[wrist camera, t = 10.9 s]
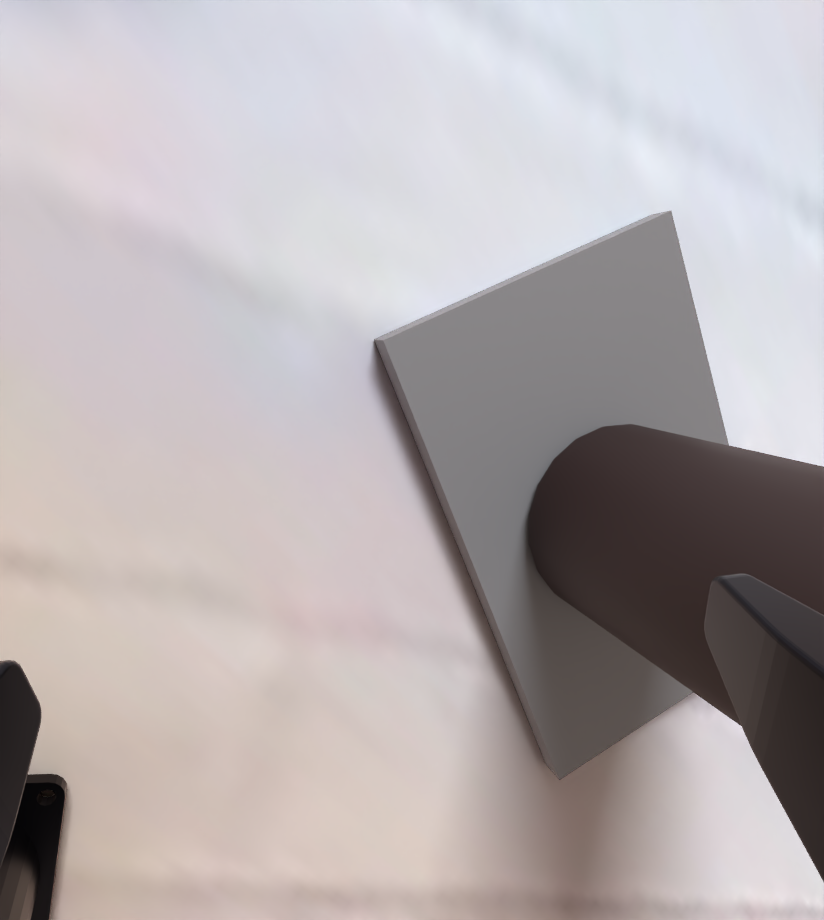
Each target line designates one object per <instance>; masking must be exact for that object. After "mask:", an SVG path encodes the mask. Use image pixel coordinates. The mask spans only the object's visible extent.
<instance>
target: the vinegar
mask: <svg viewBox="0 0 824 920" xmlns="http://www.w3.org/2000/svg"><path fill="white" fill-rule="evenodd" d="M529 546H530V550H531V553H532V556H533V559H534V563H535V566H536V569H537V571H538V573H539V574H540V575H541V577H542V578H543V579H544V581H545V582H546V583H547V585H548V586H549V587H550V589H551V590H552V591H553V593H554V594H556V595H557V596H558V597H560V598H561V599H563V600H564V601H565V602H567V603H568V604H570V605H571V606H572V607H574V608H575V609H577V610H578V611H580V612H581V613H582V614H584V615H585V616H587V617H588V618H589V619H591V620H592V621H594V622H595V623H597V624H598V625H599V626H601V627H602V628H604V629H605V630H606V631H608V632H609V633H611V634H612V635H614V636H615V637H616V638H618V639H619V640H621V641H622V642H623V643H625V644H626V645H628V646H629V647H630V648H632V649H633V650H635V651H636V652H638V653H639V654H640V655H642V656H643V657H645V658H646V659H647V660H649V661H650V662H652V663H653V664H655V665H656V666H657V667H659V668H660V669H662V670H663V671H664V672H666V673H667V674H669V675H670V676H671V677H673V678H674V679H676V680H677V681H679V682H680V683H681V684H683V685H684V686H686V687H687V688H688V689H690V690H691V691H693V692H694V693H696V694H697V695H698V696H700V697H701V698H703V699H704V700H705V701H707V702H708V703H710V704H711V705H712V706H714V707H715V708H717V709H718V710H720V711H721V712H722V713H724V714H725V715H727V716H728V717H729V718H731V719H732V720H734V721H735V722H737V723H738V724H739V725H741V723H740V720H739V718H738V716H737V713H736V711H735V708H734V706H733V704H732V701H731V699H730V696H729V694H728V692H727V689H726V687H725V684H724V682H723V679H722V677H721V675H720V672H719V670H718V667H717V665H716V663H715V660H714V658H713V655H712V653H711V650H710V648H709V646H708V643H707V640H706V637H705V631H704V621H705V615H706V609H707V603H708V596H709V590H710V585H711V582H712V581H713V579H714V578H716V577H718V576H723V575H732V574H740V573H741V574H748V575H750V576H752V577H754V578H756V579H758V580H760V581H762V582H764V583H765V584H767V585H769V586H771V587H773V588H775V589H776V590H778V591H780V592H782V593H784V594H786V595H787V596H789V597H791V598H793V599H795V600H797V601H799V602H800V603H802V604H804V605H806V606H808V607H810V608H811V609H813V610H815V611H817V612H819V613H821V614H822V615H824V467H822V466H818V465H813V464H809V463H804V462H800V461H795V460H791V459H786V458H782V457H777V456H773V455H768V454H764V453H760V452H755V451H751V450H746V449H742V448H737V447H733V446H728V445H724V444H719V443H715V442H710V441H706V440H701V439H697V438H692V437H688V436H684V435H679V434H675V433H670V432H666V431H661V430H657V429H652V428H648V427H643V426H639V425H634V424H625V425H614V426H604V427H601V428H598V429H596V430H594V431H592V432H590V433H588V434H585V435H583V436H581V437H579V438H577V439H575V440H574V441H573V442H572V443H571V444H570V445H569V446H568V447H566V448H565V449H564V450H563V451H562V452H561V453H560V454H559V455H558V456H556V457H555V458H554V460H553V461H552V463H551V464H550V466H549V468H548V469H547V471H546V472H545V474H544V476H543V477H542V479H541V480H540V482H539V484H538V485H537V489H536V492H535V495H534V499H533V502H532V506H531V509H530V512H529ZM741 726H742V725H741Z"/></svg>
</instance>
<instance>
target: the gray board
mask: <svg viewBox="0 0 824 920" xmlns="http://www.w3.org/2000/svg"><path fill="white" fill-rule="evenodd" d="M374 341H375V343H376V346H377V348H378V351H379V353H380V355H381V358H382V360H383V363H384V365H385V368H386V370H387V373H388V375H389V378H390V380H391V383H392V385H393V388H394V390H395V393H396V395H397V397H398V400H399V402H400V405H401V407H402V410H403V412H404V415H405V417H406V420H407V422H408V425H409V427H410V430H411V432H412V434H413V437H414V439H415V442H416V444H417V447H418V449H419V452H420V454H421V457H422V459H423V462H424V464H425V467H426V469H427V472H428V474H429V476H430V479H431V481H432V484H433V486H434V489H435V491H436V494H437V496H438V499H439V501H440V504H441V506H442V509H443V511H444V513H445V516H446V518H447V521H448V523H449V526H450V528H451V531H452V533H453V536H454V538H455V541H456V543H457V546H458V548H459V551H460V553H461V555H462V558H463V560H464V563H465V565H466V568H467V570H468V573H469V575H470V578H471V580H472V583H473V585H474V588H475V590H476V593H477V595H478V597H479V600H480V602H481V605H482V607H483V610H484V612H485V615H486V617H487V620H488V622H489V625H490V627H491V630H492V632H493V634H494V637H495V639H496V642H497V644H498V647H499V649H500V652H501V654H502V657H503V659H504V662H505V664H506V667H507V669H508V672H509V674H510V676H511V679H512V681H513V684H514V686H515V689H516V691H517V694H518V696H519V699H520V701H521V704H522V706H523V709H524V711H525V713H526V716H527V718H528V721H529V723H530V726H531V728H532V731H533V733H534V736H535V738H536V741H537V743H538V746H539V748H540V751H541V753H542V755H543V758H544V760H545V763H546V765H547V766H548V767H549V768H550V769H551V771H552V772H553V773H554V774H555V775H556V776H557V778H558V779H559V780H560V779H562V778H563V777H565V776H566V775H568V774H569V773H571V772H572V771H574V770H575V769H577V768H578V767H580V766H581V765H583V764H584V763H586V762H588V761H589V760H591V759H592V758H594V757H595V756H597V755H598V754H600V753H601V752H603V751H604V750H606V749H607V748H609V747H610V746H612V745H613V744H615V743H616V742H618V741H620V740H621V739H623V738H624V737H626V736H627V735H629V734H630V733H632V732H633V731H635V730H636V729H638V728H639V727H641V726H642V725H644V724H645V723H647V722H648V721H650V720H652V719H653V718H655V717H656V716H658V715H659V714H661V713H662V712H664V711H665V710H667V709H668V708H670V707H671V706H673V705H674V704H676V703H677V702H679V701H680V700H682V699H684V698H685V697H687V696H688V695H690V694H691V693H693V691H691V690H690V689H688V688H687V687H686V686H684V685H683V684H681V683H680V682H679V681H677V680H676V679H674V678H673V677H671V676H670V675H669V674H667V673H666V672H664V671H663V670H662V669H660V668H659V667H657V666H656V665H655V664H653V663H652V662H650V661H649V660H647V659H646V658H645V657H643V656H642V655H640V654H639V653H638V652H636V651H635V650H633V649H632V648H630V647H629V646H628V645H626V644H625V643H623V642H622V641H621V640H619V639H618V638H616V637H615V636H614V635H612V634H611V633H609V632H608V631H606V630H605V629H604V628H602V627H601V626H599V625H598V624H597V623H595V622H594V621H592V620H591V619H589V618H588V617H587V616H585V615H584V614H582V613H581V612H580V611H578V610H577V609H575V608H574V607H572V606H571V605H570V604H568V603H567V602H565V601H564V600H563V599H561V598H560V597H558V596H557V595H556V594H554V593H553V591H552V590H551V589H550V587H549V586H548V585H547V583H546V582H545V581H544V579H543V578H542V577H541V575H540V574H539V573H538V571H537V569H536V566H535V563H534V559H533V556H532V553H531V550H530V546H529V512H530V509H531V506H532V502H533V499H534V495H535V492H536V489H537V485H538V484H539V482H540V480H541V479H542V477H543V476H544V474H545V472H546V471H547V469H548V468H549V466H550V464H551V463H552V461H553V460H554V458H555V457H556V456H558V455H559V454H560V453H561V452H562V451H563V450H564V449H565V448H566V447H568V446H569V445H570V444H571V443H572V442H573V441H574V440H575V439H577V438H579V437H581V436H583V435H585V434H588V433H590V432H592V431H594V430H596V429H598V428H601V427H604V426H614V425H625V424H634V425H639V426H643V427H648V428H652V429H657V430H661V431H666V432H670V433H675V434H679V435H684V436H688V437H692V438H697V439H701V440H706V441H710V442H715V443H719V444H724V445H728V446H729V444H728V440H727V436H726V432H725V428H724V424H723V420H722V416H721V412H720V407H719V403H718V399H717V395H716V391H715V387H714V383H713V379H712V375H711V371H710V367H709V363H708V359H707V355H706V350H705V346H704V342H703V338H702V334H701V330H700V326H699V322H698V318H697V314H696V310H695V306H694V302H693V298H692V294H691V289H690V285H689V281H688V277H687V273H686V269H685V265H684V261H683V257H682V253H681V249H680V245H679V241H678V237H677V232H676V228H675V224H674V220H673V216H672V212H671V211H667V212H663V213H658V214H653V215H650V216H648V217H646V218H644V219H641V220H639V221H637V222H635V223H632V224H630V225H628V226H626V227H624V228H621V229H619V230H617V231H615V232H612V233H610V234H608V235H606V236H603V237H601V238H599V239H597V240H595V241H592V242H590V243H588V244H586V245H583V246H581V247H579V248H577V249H575V250H572V251H570V252H568V253H566V254H563V255H561V256H559V257H557V258H555V259H552V260H550V261H548V262H546V263H543V264H541V265H539V266H537V267H534V268H532V269H530V270H528V271H526V272H523V273H521V274H519V275H517V276H514V277H512V278H510V279H508V280H506V281H503V282H501V283H499V284H497V285H494V286H492V287H490V288H488V289H485V290H483V291H481V292H479V293H477V294H474V295H472V296H470V297H468V298H465V299H463V300H461V301H459V302H457V303H454V304H452V305H450V306H448V307H445V308H443V309H441V310H439V311H436V312H434V313H432V314H430V315H428V316H425V317H423V318H421V319H419V320H416V321H414V322H412V323H410V324H408V325H405V326H403V327H401V328H399V329H396V330H394V331H392V332H390V333H387V334H385V335H383V336H381V337H379V338H376V339H374Z"/></svg>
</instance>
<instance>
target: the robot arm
mask: <svg viewBox="0 0 824 920" xmlns="http://www.w3.org/2000/svg"><path fill="white" fill-rule="evenodd" d="M704 631H705V637H706V640H707V643H708V646H709V648H710V650H711V653H712V655H713V658H714V660H715V663H716V665H717V667H718V670H719V672H720V675H721V677H722V679H723V682H724V684H725V687H726V689H727V692H728V694H729V696H730V699H731V701H732V704H733V706H734V708H735V711H736V713H737V716H738V718H739V720H740V723H741V725H742V728H743V730H744V732H745V735H746V737H747V739H748V741H749V744H750V746H751V748H752V750H753V752H754V754H755V756H756V758H757V760H758V762H759V764H760V766H761V768H762V770H763V771H764V773H765V775H766V777H767V779H768V781H769V782H770V784H771V786H772V788H773V790H774V792H775V793H776V795H777V797H778V799H779V801H780V803H781V804H782V806H783V808H784V810H785V812H786V813H787V815H788V817H789V819H790V821H791V823H792V824H793V826H794V828H795V830H796V832H797V834H798V835H799V837H800V839H801V841H802V843H803V845H804V846H805V848H806V850H807V852H808V854H809V856H810V857H811V859H812V861H813V863H814V865H815V867H816V868H817V870H818V872H819V874H820V876H821V878H822V879H823V881H824V615H822V614H821V613H819V612H817V611H815V610H813V609H811V608H810V607H808V606H806V605H804V604H802V603H800V602H799V601H797V600H795V599H793V598H791V597H789V596H787V595H786V594H784V593H782V592H780V591H778V590H776V589H775V588H773V587H771V586H769V585H767V584H765V583H764V582H762V581H760V580H758V579H756V578H754V577H752V576H750V575H748V574H741V573H740V574H732V575H723V576H718V577H716V578H714V579H713V581H712V582H711V585H710V590H709V596H708V603H707V609H706V615H705V621H704ZM40 723H41V707H40V703H39V701H38V699H37V697H36V695H35V693H34V691H33V689H32V687H31V685H30V683H29V681H28V679H27V677H26V675H25V673H24V671H23V669H22V668H21V666H20V665H19V664H18V663H17V662H15V661H11V660H7V661H0V920H49V919H50V912H51V905H52V897H53V890H54V882H55V875H56V867H57V860H58V852H59V845H60V837H61V830H62V822H63V815H64V807H65V800H66V792H67V784H66V782H65V780H64V779H63V778H62V777H60V776H58V775H54V774H35V775H28V771H29V767H30V763H31V759H32V755H33V751H34V747H35V743H36V740H37V736H38V732H39V728H40ZM45 790H51V791H53V792H54V793H55V794H54V795H53V796H50V797H45V796H42V795H41V794H40V793H41V792H42V791H45Z"/></svg>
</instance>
